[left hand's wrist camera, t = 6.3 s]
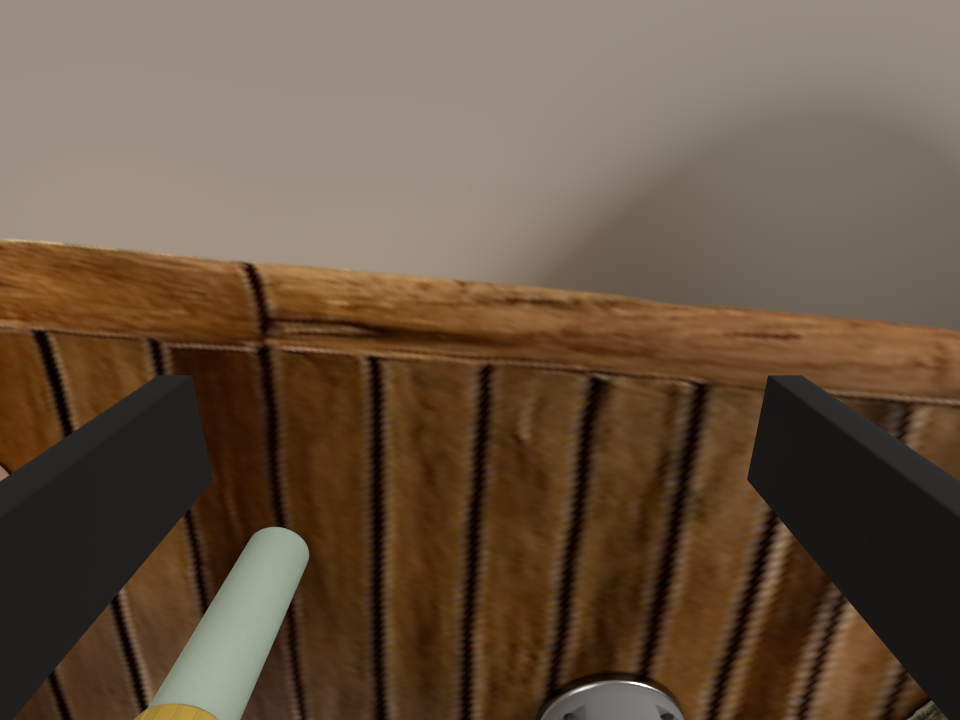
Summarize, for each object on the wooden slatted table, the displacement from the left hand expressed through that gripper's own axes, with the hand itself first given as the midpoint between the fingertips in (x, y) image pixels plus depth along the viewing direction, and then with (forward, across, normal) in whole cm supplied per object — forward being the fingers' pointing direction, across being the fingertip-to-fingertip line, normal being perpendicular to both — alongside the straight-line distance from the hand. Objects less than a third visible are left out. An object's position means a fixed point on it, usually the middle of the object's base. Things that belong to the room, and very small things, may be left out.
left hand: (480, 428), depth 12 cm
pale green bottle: (+28, +18, +27) cm, 43 cm away
